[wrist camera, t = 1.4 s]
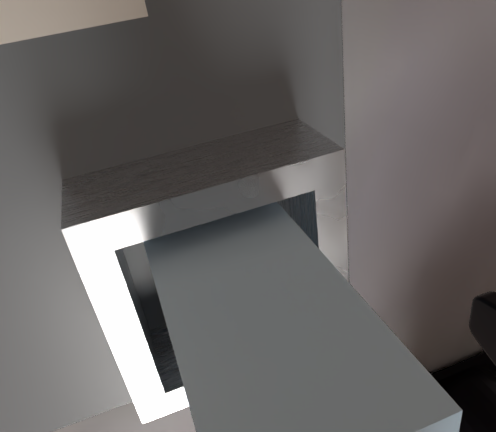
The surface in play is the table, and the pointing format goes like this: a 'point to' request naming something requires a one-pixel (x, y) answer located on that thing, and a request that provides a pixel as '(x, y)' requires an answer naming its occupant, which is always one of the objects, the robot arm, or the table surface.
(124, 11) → the port block
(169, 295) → the plug
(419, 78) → the table surface
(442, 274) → the table surface
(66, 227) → the hollow square tube
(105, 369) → the panel board
